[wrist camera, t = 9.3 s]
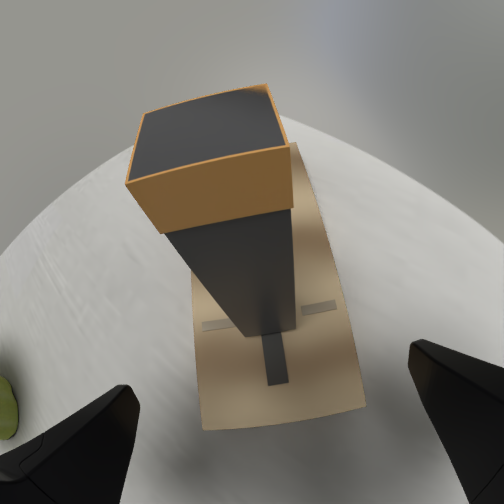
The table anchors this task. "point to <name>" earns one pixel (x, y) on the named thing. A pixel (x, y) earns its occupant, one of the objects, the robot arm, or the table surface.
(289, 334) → the fader track
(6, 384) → the plant pot
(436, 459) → the table surface
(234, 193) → the fader tab
